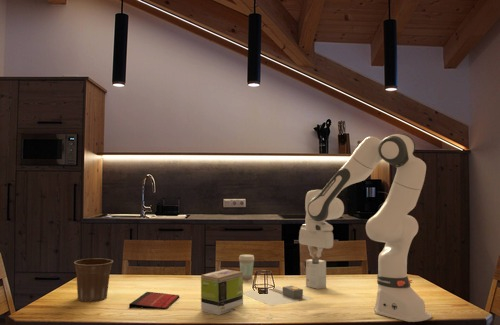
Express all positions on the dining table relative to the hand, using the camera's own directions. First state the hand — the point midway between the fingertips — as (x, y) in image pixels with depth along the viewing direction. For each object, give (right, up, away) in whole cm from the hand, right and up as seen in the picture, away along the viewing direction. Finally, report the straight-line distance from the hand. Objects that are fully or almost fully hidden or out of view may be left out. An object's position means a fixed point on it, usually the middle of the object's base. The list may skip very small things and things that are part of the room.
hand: (315, 256), depth 207 cm
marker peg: (0, -3, 0) cm, 3 cm away
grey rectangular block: (-11, -17, -5) cm, 20 cm away
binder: (-70, -18, -11) cm, 73 cm away
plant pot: (-98, -17, -6) cm, 100 cm away
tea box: (-41, -17, -21) cm, 49 cm away
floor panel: (-18, -18, -4) cm, 26 cm away
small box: (+3, -19, +20) cm, 28 cm away
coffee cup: (-31, -20, +39) cm, 54 cm away
